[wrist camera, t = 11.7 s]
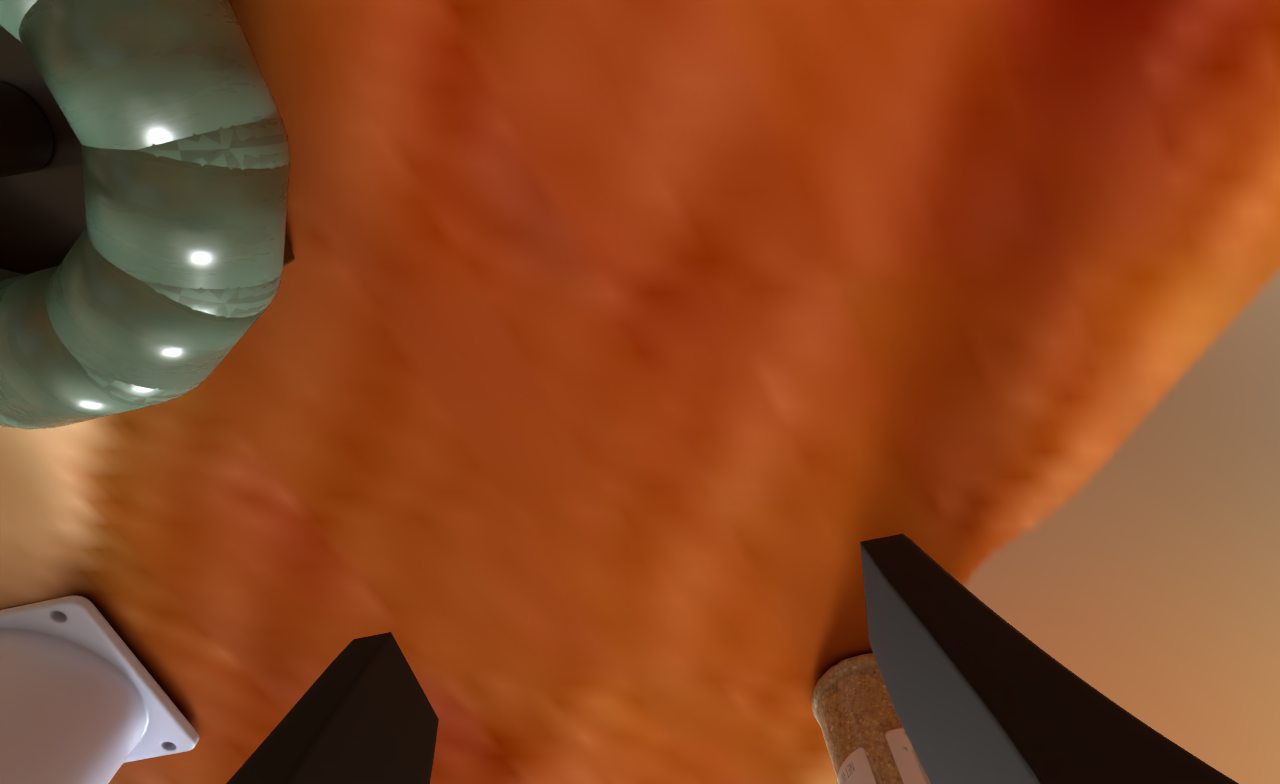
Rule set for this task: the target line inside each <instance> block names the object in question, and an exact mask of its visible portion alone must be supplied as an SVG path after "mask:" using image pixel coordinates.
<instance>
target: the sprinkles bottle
mask: <svg viewBox="0 0 1280 784" xmlns="http://www.w3.org/2000/svg"><path fill="white" fill-rule="evenodd" d="M811 703H812V709H813V715H814V717H815V718H816V720H817V721H818V723H819V725H820V726H821V730H822V733H823V736H824V739H825V742H826V745H827V749H828V751H829V754H830V758H831V761H832V764H833V768H834V771H835V774H836V776H837V783H838V784H931V783H930V781H929V779H928V777H927V775H926V773H925V771H924V769H923V767H922V765H921V763H920V761H919V759H918V757H917V755H916V753H915V751H914V749H913V747H912V745H911V743H910V741H909V739H908V737H907V735H906V733H905V731H904V728H903V726H902V724H901V722H900V720H899V718H898V716H897V714H896V712H895V710H894V707H893V705H892V702H891V699H890V697H889V694H888V691H887V689H886V686H885V683H884V681H883V678H882V675H881V673H880V670H879V667H878V664H877V662H876V659H875V656H874V653H869V654H862V655H859V656H855V657H852V658H848V659H845V660H842V661H840V662H839V663H838V664H837V665H835V666H832V667H831V668H830V669H829V670H828V671H827V672H826V673H825V674H824V675H823V676H822V677H821V678H820V679H819V680H818V681H817V683H816V686H815V687H814V689H813V691H812V701H811Z"/></svg>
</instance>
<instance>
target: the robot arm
mask: <svg viewBox="0 0 1280 784" xmlns="http://www.w3.org/2000/svg"><path fill="white" fill-rule="evenodd" d="M860 546H861V557H862V568H863V579H864V590H865V601H866V612H867V623H868V634H869V642H870V645H871V648H872V651H873V653H874V656H875V659H876V662H877V664H878V667H879V670H880V673H881V675H882V678H883V681H884V683H885V686H886V689H887V691H888V694H889V697H890V699H891V702H892V705H893V707H894V710H895V712H896V714H897V716H898V718H899V720H900V722H901V724H902V726H903V728H904V731H905V733H906V735H907V737H908V739H909V741H910V743H911V745H912V747H913V749H914V751H915V753H916V755H917V757H918V759H919V761H920V763H921V765H922V767H923V769H924V771H925V773H926V775H927V777H928V779H929V781H930V783H931V784H1238V783H1237V782H1235V781H1234V780H1232V779H1230V778H1229V777H1227V776H1225V775H1224V774H1222V773H1220V772H1219V771H1217V770H1216V769H1214V768H1212V767H1211V766H1209V765H1208V764H1206V763H1205V762H1203V761H1201V760H1200V759H1198V758H1197V757H1195V756H1193V755H1192V754H1191V753H1189V752H1187V751H1186V750H1184V749H1183V748H1181V747H1180V746H1178V745H1177V744H1175V743H1173V742H1172V741H1170V740H1169V739H1167V738H1166V737H1164V736H1163V735H1161V734H1160V733H1158V732H1156V731H1155V730H1154V729H1152V728H1151V727H1149V726H1148V725H1146V724H1145V723H1143V722H1141V721H1140V720H1139V719H1137V718H1136V717H1134V716H1133V715H1131V714H1130V713H1129V712H1127V711H1126V710H1124V709H1123V708H1121V707H1120V706H1118V705H1117V704H1116V703H1114V702H1113V701H1111V700H1110V699H1108V698H1107V697H1106V696H1104V695H1103V694H1101V693H1100V692H1099V691H1097V690H1096V689H1094V688H1093V687H1091V686H1090V685H1089V684H1088V683H1086V682H1085V681H1083V680H1082V679H1081V678H1079V677H1078V676H1076V675H1075V674H1074V673H1072V672H1071V671H1070V670H1068V669H1067V668H1066V667H1064V666H1063V665H1062V664H1060V663H1059V662H1058V661H1056V660H1055V659H1054V658H1052V657H1051V656H1050V655H1048V654H1047V653H1046V652H1044V651H1043V650H1042V649H1040V648H1039V647H1038V646H1037V645H1035V644H1034V643H1033V642H1032V641H1030V640H1029V639H1028V638H1026V637H1025V636H1024V635H1022V634H1021V633H1020V632H1019V631H1018V630H1016V629H1015V628H1014V627H1013V626H1011V625H1010V624H1009V623H1007V622H1006V621H1005V620H1004V619H1002V618H1001V617H1000V616H999V615H997V614H996V613H995V612H994V611H993V610H991V609H990V608H989V607H987V606H986V605H985V604H984V603H983V602H981V601H980V600H979V599H978V598H977V597H976V596H974V595H973V594H972V593H971V592H970V591H969V590H967V589H966V588H965V587H964V586H963V585H962V584H960V583H959V582H958V581H957V580H956V579H955V578H953V577H952V576H951V575H950V574H949V573H948V572H946V571H945V570H944V569H943V568H942V567H941V566H940V565H939V564H937V563H936V562H935V561H934V560H933V559H932V558H931V557H930V556H928V555H927V554H926V553H925V552H924V551H923V550H922V549H921V548H920V547H918V546H917V545H916V544H915V543H914V542H913V541H912V540H911V539H910V538H908V537H906V536H905V535H903V534H899V535H894V536H889V537H883V538H878V539H873V540H868V541H863V542H860ZM438 720H439V719H438V717H437V716H436V714H435V712H434V710H433V708H432V706H431V705H430V703H429V701H428V699H427V697H426V695H425V694H424V692H423V690H422V688H421V686H420V685H419V683H418V681H417V679H416V677H415V675H414V674H413V672H412V670H411V668H410V666H409V664H408V663H407V661H406V659H405V657H404V655H403V653H402V652H401V650H400V648H399V646H398V644H397V643H396V641H395V639H394V637H393V635H392V633H391V632H389V633H384V634H379V635H374V636H369V637H363V638H358V639H354V640H353V641H352V642H351V643H350V644H349V645H348V646H347V647H346V648H345V649H344V650H343V651H342V652H341V653H340V654H339V656H338V657H337V658H336V659H335V660H334V661H333V662H332V663H331V664H330V666H329V667H328V668H327V669H326V670H325V671H324V672H323V674H322V675H321V676H320V677H319V678H318V679H317V680H316V682H315V683H314V684H313V685H312V686H311V687H310V688H309V690H308V691H307V692H306V693H305V694H304V695H303V697H302V698H301V699H300V700H299V701H298V702H297V704H296V705H295V706H294V707H293V708H292V709H291V711H290V712H289V713H288V714H287V715H286V716H285V717H284V719H283V720H282V721H281V722H280V723H279V724H278V725H277V727H276V728H275V729H274V730H273V731H272V732H271V734H270V735H269V736H268V737H267V738H266V739H265V740H264V742H263V743H262V744H261V745H260V746H259V747H258V748H257V750H256V751H255V752H254V753H253V754H252V755H251V756H250V758H249V759H248V760H247V761H246V762H245V763H244V764H243V766H242V767H241V768H240V769H239V770H238V771H237V772H236V773H235V775H234V776H233V777H232V778H231V779H230V780H229V781H228V782H227V783H226V784H430V777H431V771H432V765H433V759H434V751H435V743H436V735H437V727H438ZM198 740H199V735H198V733H197V732H196V730H195V729H194V728H193V727H192V725H191V724H190V723H189V722H188V720H187V719H186V718H185V717H184V716H183V714H182V713H181V712H180V711H179V709H178V708H177V707H176V706H175V704H174V703H173V702H172V701H171V699H170V698H169V697H168V696H167V695H166V693H165V692H164V691H163V690H162V688H161V687H160V686H159V685H158V683H157V682H156V681H155V680H154V679H153V677H152V676H151V675H150V674H149V672H148V671H147V670H146V669H145V667H144V666H143V665H142V664H141V662H140V661H139V660H138V659H137V658H136V656H135V655H134V654H133V653H132V651H131V650H130V649H129V648H128V646H127V645H126V644H125V643H124V642H123V640H122V639H121V638H120V637H119V635H118V634H117V633H116V632H115V630H114V629H113V628H112V627H111V625H110V624H109V623H108V622H107V621H106V619H105V618H104V617H103V616H102V614H101V613H100V612H99V611H98V609H97V608H96V607H95V606H94V604H93V603H92V602H91V601H90V600H88V599H87V598H85V597H82V596H67V597H62V598H57V599H52V600H47V601H42V602H37V603H33V604H28V605H23V606H18V607H13V608H8V609H3V610H0V784H108V783H109V782H110V780H111V779H112V778H113V776H114V775H115V773H116V772H117V771H118V769H119V768H120V766H121V765H122V764H123V763H125V762H130V761H136V760H141V759H147V758H152V757H158V756H163V755H169V754H174V753H180V752H185V751H189V750H192V749H193V748H194V747H195V745H196V744H197V742H198Z"/></svg>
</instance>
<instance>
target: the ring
mask: <svg viewBox="0 0 1280 784" xmlns="http://www.w3.org/2000/svg"><path fill="white" fill-rule="evenodd" d="M0 25H1V26H2V27H3V28H4V29H6V30H7V31H8V32H9V33H10V34H12V35H13V36H14V37H15V38H17V39H18V40H19V41H20V42H21V43H22V44H23V45H24V47H25V49H26V51H27V52H28V54H29V56H30V57H31V59H32V61H33V63H34V64H35V66H36V68H37V69H38V71H39V73H40V75H41V76H42V78H43V80H44V81H45V83H46V85H47V87H48V88H49V90H50V92H51V93H52V95H53V97H54V99H55V100H56V102H57V104H58V105H59V107H60V109H61V111H62V112H63V114H64V116H65V117H66V119H67V121H68V123H69V124H70V126H71V128H72V129H73V131H74V133H75V135H76V136H77V138H78V140H79V141H80V143H81V153H82V168H83V182H84V197H85V211H86V228H85V229H84V231H83V232H82V234H81V235H80V236H79V238H78V239H77V241H76V242H75V244H74V245H73V246H72V248H71V249H70V251H69V252H68V254H67V255H66V256H65V258H64V259H63V261H62V262H61V264H60V265H59V266H55V267H51V268H48V269H44V270H40V271H36V272H32V273H28V274H22V273H18V272H14V271H10V270H6V269H2V268H0V426H4V427H12V428H20V429H46V428H55V427H60V426H65V425H70V424H74V423H78V422H82V421H87V420H91V419H95V418H99V417H104V416H108V415H112V414H116V413H121V412H125V411H129V410H134V409H138V408H142V407H146V406H151V405H155V404H159V403H163V402H166V401H169V400H172V399H175V398H178V397H180V396H182V395H183V394H185V393H187V392H189V391H190V390H192V389H194V388H195V387H197V386H198V385H199V384H200V383H201V382H202V381H203V380H204V379H205V378H207V377H208V376H209V375H210V373H211V372H212V371H213V370H214V369H215V368H216V366H217V365H218V364H219V363H220V362H221V361H222V359H223V358H224V357H225V356H226V355H227V354H228V352H229V351H230V350H231V349H232V348H233V347H234V345H235V344H236V343H237V342H238V341H239V340H240V338H241V337H242V336H243V335H244V334H245V333H246V331H247V330H248V329H249V328H250V327H251V326H252V324H253V323H254V322H255V321H256V320H257V319H258V317H259V316H260V315H261V314H262V313H263V312H264V311H265V309H266V308H267V307H268V306H269V304H270V303H271V301H272V300H273V298H274V296H275V295H276V292H277V290H278V287H279V285H280V282H281V278H282V271H283V260H284V245H285V229H286V214H287V198H288V182H289V167H290V150H289V142H288V136H287V133H286V130H285V126H284V124H283V121H282V118H281V116H280V114H279V112H278V109H277V107H276V105H275V103H274V100H273V98H272V96H271V94H270V91H269V89H268V87H267V85H266V82H265V80H264V78H263V76H262V73H261V71H260V69H259V67H258V64H257V62H256V60H255V58H254V55H253V53H252V51H251V49H250V46H249V44H248V42H247V40H246V37H245V35H244V33H243V31H242V28H241V26H240V24H239V22H238V19H237V17H236V15H235V13H234V11H233V8H232V6H231V4H230V2H229V0H0Z"/></svg>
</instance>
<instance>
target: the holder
mask: <svg viewBox="0 0 1280 784" xmlns="http://www.w3.org/2000/svg"><path fill="white" fill-rule="evenodd" d="M85 228H86V211H85V197H84V182H83V168H82V153H81V143H80V141H79V140H78V138H77V136H76V135H75V133H74V131H73V129H72V128H71V126H70V124H69V123H68V121H67V119H66V117H65V116H64V114H63V112H62V111H61V109H60V107H59V105H58V104H57V102H56V100H55V99H54V97H53V95H52V93H51V92H50V90H49V88H48V87H47V85H46V83H45V81H44V80H43V78H42V76H41V75H40V73H39V71H38V69H37V68H36V66H35V64H34V63H33V61H32V59H31V57H30V56H29V54H28V52H27V51H26V49H25V47H24V45H23V44H22V43H21V42H20V41H19V40H18V39H17V38H15V37H14V36H13V35H12V34H10V33H9V32H8V31H7V30H6V29H4V28H3V27H2V26H1V25H0V268H2V269H6V270H10V271H14V272H18V273H22V274H28V273H32V272H36V271H40V270H44V269H48V268H51V267H55V266H59V265H60V264H61V262H62V261H63V259H64V258H65V256H66V255H67V254H68V252H69V251H70V249H71V248H72V246H73V245H74V244H75V242H76V241H77V239H78V238H79V236H80V235H81V234H82V232H83V231H84V229H85ZM294 259H295V258H294V255H293V253H292V251H291V248H290V246H289V244H288V242H287V240H286V238H285V245H284V260H283V266H285V265H287V264H288V263H290V262H292V261H293V260H294Z"/></svg>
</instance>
